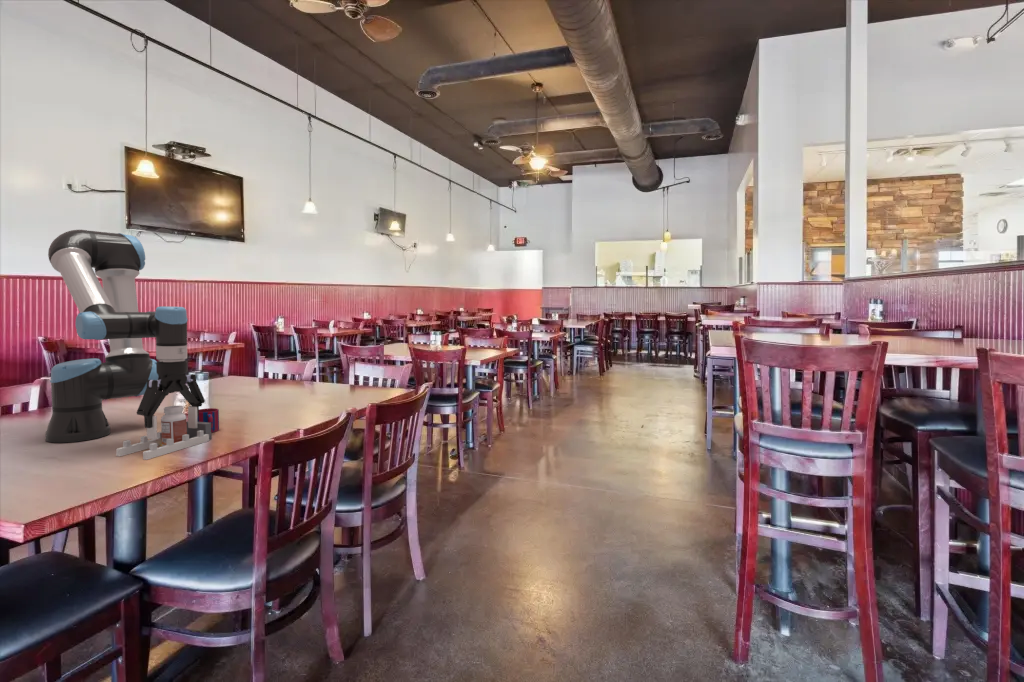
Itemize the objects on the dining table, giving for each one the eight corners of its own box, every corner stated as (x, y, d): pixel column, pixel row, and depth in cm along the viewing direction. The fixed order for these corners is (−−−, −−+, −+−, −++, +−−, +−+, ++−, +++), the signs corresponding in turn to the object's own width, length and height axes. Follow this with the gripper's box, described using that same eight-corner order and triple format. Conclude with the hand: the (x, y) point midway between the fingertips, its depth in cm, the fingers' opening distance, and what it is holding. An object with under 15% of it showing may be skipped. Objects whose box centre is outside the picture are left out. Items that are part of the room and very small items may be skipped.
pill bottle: (188, 441, 154) (187, 404, 153) (185, 446, 149) (184, 408, 148) (163, 443, 151) (162, 405, 151) (160, 448, 146) (158, 409, 145)
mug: (218, 427, 172) (217, 407, 171) (220, 434, 164) (220, 413, 163) (194, 430, 168) (194, 409, 168) (196, 436, 160) (195, 415, 159)
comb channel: (116, 456, 139) (115, 437, 138) (187, 436, 160) (186, 420, 160) (146, 459, 136) (146, 441, 136) (214, 439, 157) (214, 423, 157)
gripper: (141, 365, 135) (143, 445, 137) (217, 356, 159) (218, 424, 161) (119, 363, 137) (121, 442, 139) (197, 355, 161) (198, 422, 163)
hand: (173, 433), depth 150 cm, fingers open, 13 cm apart
